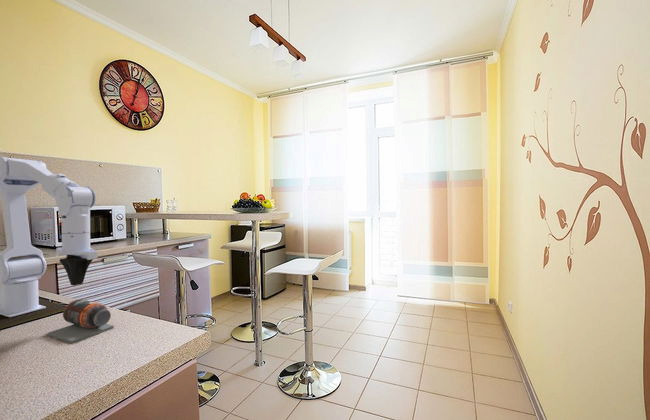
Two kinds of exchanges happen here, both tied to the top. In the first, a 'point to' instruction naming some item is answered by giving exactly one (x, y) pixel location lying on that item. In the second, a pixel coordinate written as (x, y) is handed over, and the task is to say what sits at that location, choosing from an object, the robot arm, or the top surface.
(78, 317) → the supplement bottle
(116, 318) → the top surface
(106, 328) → the mat
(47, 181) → the robot arm
